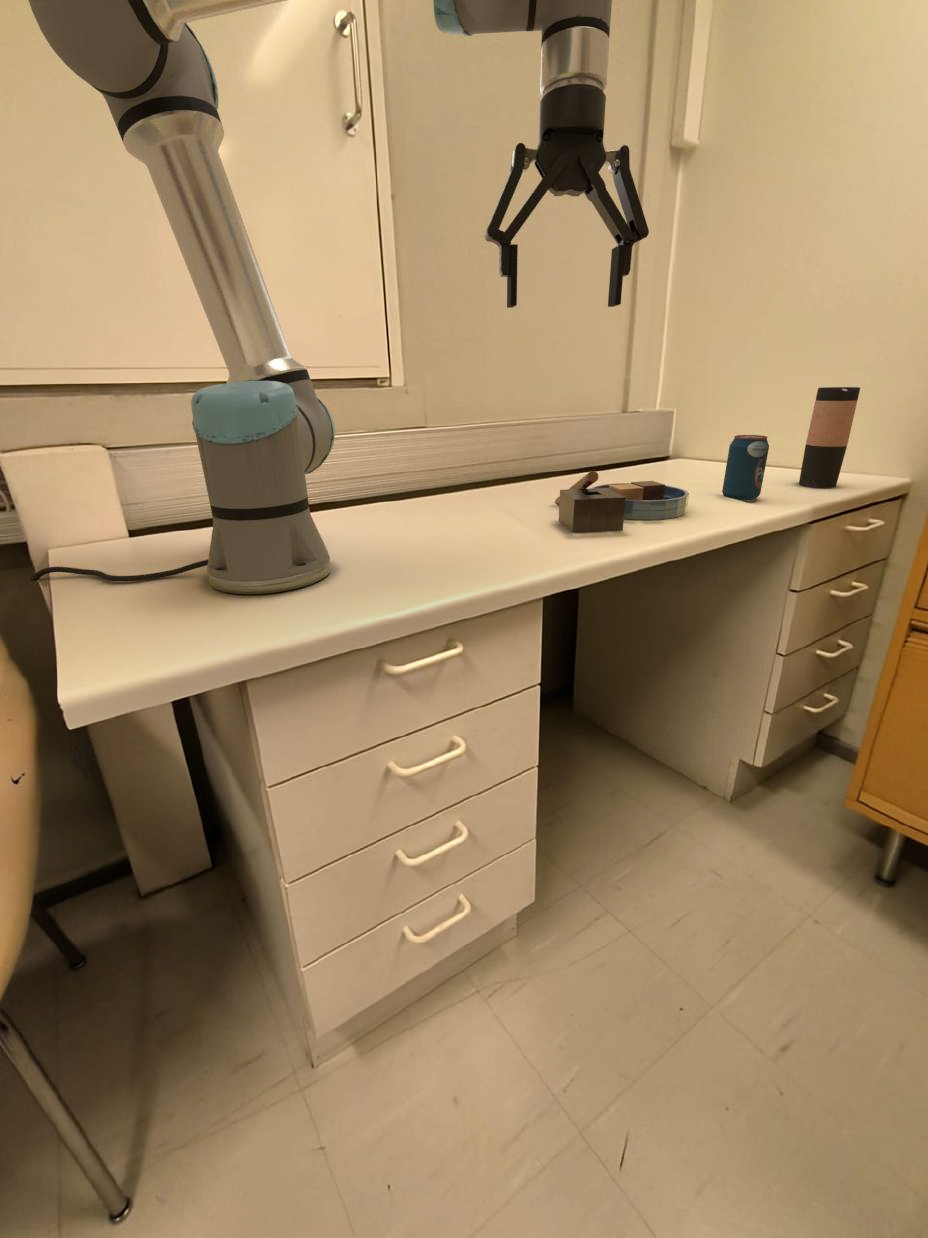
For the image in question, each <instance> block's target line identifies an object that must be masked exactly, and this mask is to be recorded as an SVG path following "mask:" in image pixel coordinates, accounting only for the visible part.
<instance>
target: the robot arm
mask: <svg viewBox="0 0 928 1238" xmlns="http://www.w3.org/2000/svg"><path fill="white" fill-rule="evenodd" d="M286 1H288V0H28V3H29V5H30V9H31V13H32V14H33V16H34V18H35V21H36V23H37V25H38V28H39V29H40V31H41V33H42V35H43V37H45V38H44V39H45V40H46V42H47V43H48V44H49V46H50V48H51V49H52V51H54V53H55V54H56V55H57V56H58V58H59V59H60V60H61V61H62V62H63V63H64V64H65V66H66V67H67V68H69V69H70V71H72V72H73V73H74V75H77V76H78V77H79V78H80V79H82V80H83V81H84V82H86V83H87V84H88V85H89V86H91V87H92V88H94V89H95V90H96V91H97V92H99V93H100V94H101V95H102V96H103V98H104V100H105V102H106V104H107V107H108V109H109V111H110V115H111V117H112V119H113V121H114V124H115V127H116V129H117V131H118V134H119V136H120V139H121V141H122V144H123V146H124V148H125V150H126V152H127V153H128V154H129V155H130V156H132V157H133V158H134V159H136V160H137V161H139V162H141V163H142V164H144V165H145V167H146V169H147V170H148V173H149V174H150V177H151V180H152V182H153V185H154V188H155V190H156V193H157V195H158V197H159V200H160V203H161V206H162V208H163V211H164V213H165V215H166V217H167V221H168V223H169V225H170V228H171V231H172V233H173V235H174V236H173V237H174V238H175V240H176V243H177V245H178V248H179V251H180V253H181V256H182V258H183V261H184V263H185V266H186V268H187V271H188V273H189V276H190V278H191V281H192V283H193V286H194V288H195V290H196V293H197V295H198V298H199V301H200V304H201V306H202V308H203V310H204V313H205V316H206V318H207V321H208V323H209V326H210V328H211V331H212V333H213V336H214V338H215V341H216V344H217V346H218V348H219V351H220V354H221V356H222V358H223V359H222V360H223V361H224V364H225V366H226V369H227V371H228V378H227V380H226V383H220V384H219V383H218V384H214V385H208V386H206V387H205V386H204V387H202V388H200V389H198V390H196V391H195V392H194V394H193V395H192V397H191V400H190V406H191V415H192V420H191V425H192V429H193V432H194V434H195V438H196V439H195V440H196V444H197V448H198V452H199V457H200V462H201V467H202V471H203V476H204V482H205V488H206V492H207V496H208V502H209V507H210V512H211V517H212V529H211V530H212V531H211V537H210V545H209V550H208V559H207V558H206V559H204V560H201V561H197V562H194V563H190V564H187V565H183V566H180V567H178V568H174V569H169V570H164V571H158V572H151V573H145V574H134V575H114V574H107V573H106V572H103V571H100V570H97V569H86V568H76V567H69V566H50V567H49V566H48V567H45V568H42V569H39V570H38V571H37V572H35V573H34V574H33V575H32V576H31V577H30V579H29V581H30V582H36V581H38V580H40V578H42V576H45V575H47V574H51V573H65V574H67V573H68V574H74V575H81V576H95V577H98V578H101V579H102V580H106V581H109V582H122V583H123V582H139V581H148V580H154V579H161V578H167V577H172V576H176V575H180V574H183V573H187V572H189V571H191V570H196V569H199V568H203V567H207V569H206V572H207V576H208V581H209V585H210V587H212V588H213V589H215V590H217V591H220V592H223V593H229V594H236V595H265V594H273V593H275V594H276V593H280V592H286V591H293V590H296V589H299V588H303V587H306V586H310V585H312V584H314V583H317V582H319V581H321V580H323V579H324V578H326V577H327V576H328V575H329V574H330V573H331V571H332V565H331V555H330V553H329V551H328V549H327V547H326V544H325V543H324V540H323V538H322V536H321V534H320V532H319V529H318V528H317V525H316V523H315V521H314V519H313V517H312V514H311V511H310V503H309V496H308V495H309V494H308V487H307V480H306V475H309V474H311V473H313V472H315V471H316V470H317V469H319V468H320V467H321V466H322V465H323V463H325V461H326V460H327V458H328V457H329V456H330V454H331V452H332V449H333V447H334V444H335V436H336V429H335V423H334V420H333V416H332V414H331V412H330V410H329V409H328V407H327V406H326V405H325V403H324V402H323V401H322V400H321V399H320V398H319V397H318V396H317V393H316V391H315V388H314V385H313V382H312V380H311V377H310V375H309V371H308V369H307V367H306V366H305V365H304V364H302V363H300V362H299V361H297V360H296V359H294V358H293V357H292V355H291V353H290V350H289V347H288V345H287V341H286V339H285V336H284V333H283V330H282V328H281V325H280V321H279V319H278V316H277V313H276V310H275V308H274V304H273V302H272V299H271V296H270V293H269V290H268V288H267V285H266V282H265V280H264V276H263V274H262V271H261V267H260V265H259V262H258V260H257V256H256V254H255V251H254V249H253V246H252V245H253V244H252V242H251V240H250V237H249V234H248V232H247V229H246V226H245V223H244V221H243V218H242V214H241V212H240V208H239V206H238V203H237V199H236V198H235V195H234V192H233V189H232V186H231V183H230V181H229V178H228V176H227V173H226V170H225V167H224V163H223V160H222V158H221V156H220V153H219V150H220V148H221V144H222V142H223V140H224V137H225V129H224V126H223V123H222V120H221V118H220V113H219V112H218V110H219V90H218V89H219V88H218V83H217V78H216V74H215V71H214V69H213V66H212V63H211V60H210V59H209V57H208V55H207V53H206V50H205V49H204V47H203V44H201V42H200V41H199V40H198V38H197V36H196V34H195V32H194V30H192V28H191V27H190V26H189V25H188V24H189V23H191V22H192V23H193V22H196V21H200V20H206V19H209V18H210V19H211V18H215V17H218V16H223V15H228V14H232V13H237V12H241V11H242V12H243V11H246V10H250V9H254V8H255V9H256V8H260V7H264V6H268V5H272V4H277V3H281V2H286ZM432 3H433V16H434V23H435V25H436V27H437V29H438V30H439V31H440V32H441V33H443V34H453V35H464V36H465V37H472V36H473V35H479V34H480V35H481V34H497V33H512V32H513V33H515V32H537V31H538V32H540V33H541V39H540V40H541V42H540V44H541V45H540V46H541V47H540V49H541V52H540V53H541V56H540V81H539V91H540V95H541V96H542V98H541V100H540V101H539V109H538V110H539V113H538V143H537V148H535V149H534V148H529V147H526V145H525V144H524V143H523V142H519V143H517V144H516V146H515V148H514V150H513V151H512V153H511V159H510V169H509V175H508V177H507V179H506V182H505V184H504V187H503V190H502V191H501V193H500V196H499V198H498V201H497V203H496V206H495V208H494V210H493V213H492V215H491V217H490V220H489V222H488V225H487V228H486V230H485V232H484V240H485V241H486V242H489V243H493V244H495V245H496V246H497V247H498V252H499V253H498V258H499V259H498V270H499V271H498V274H499V276H500V277H501V278H506V308H507V309H509V308H510V309H512V308H515V307H517V306H518V256H519V255H518V253H519V252H518V249H519V248H518V247H519V245H518V244H516V243H513V244H512V241H513V239H514V238H515V237H516V235H517V234H518V232H519V231H520V230H521V228H522V227H523V225H524V224H525V222H526V221H527V220H528V218H529V217H530V215H531V214H532V213H533V212H534V211H535V209H536V207H537V206H538V205H539V204H540V202H541V201H542V199H543V197H544V196H545V195H546V193H547V192H549V193H550V194H552V195H553V197H563V196H566V195H567V196H570V197H580V196H581V195H583V194H584V196H585V197H586V199H587V200H588V201H589V202H591V204H592V205H593V207H594V209H595V211H597V214H598V215H599V217H600V218H601V220H602V221H603V223H604V225H605V226H606V228H607V230H608V231H609V233H610V234H611V236H612V238H613V240H614V241H615V243H616V244H617V245H616V246H615V247H613V248H611V254H610V255H611V257H610V270H609V282H608V283H609V284H608V297H607V307H608V308H614V307H617V306H620V305H621V304H622V292H623V282H624V281H623V280H624V277H627V276H629V274H630V272H631V267H632V266H631V265H632V256H633V247H634V245H635V244H636V243H638V242H640V241H642V240H644V239H646V238H648V237H649V234H650V230H649V229H650V228H649V226H648V224H647V223H648V222H647V220H646V216H645V214H644V210H643V207H642V204H641V200H640V197H639V194H638V191H637V188H636V184H635V181H634V178H633V174H632V171H631V167H630V166H631V165H630V164H631V163H630V161H631V159H630V158H631V157H630V148H629V146H628V145H626V144H623V145H622V146H620V148H619V149H610V150H606V148H605V145H604V134H605V120H606V106H607V105H606V104H607V96H606V94H605V92H604V91H605V90H606V88H607V85H608V76H609V74H608V73H609V51H610V33H611V19H612V6H613V0H433V2H432ZM532 163H533V164H534V166H535V169H536V170H537V172H538V174H539V175H540V177H541V180H540V182H538V184H537V186H536V187H535V189H534V190H533V191H532V193H531V194H530V195H529V197H528V198H527V200H526V201H525V203H524V204H523V205H522V207H521V208H520V210H519V211H518V213H517V214H516V215H515V217H514V218H513V219H512V221H511V222H510V224H509V225H508V226H507V227H506V229H505V231H503V230H501V229H500V227H501V226H502V223H503V221H504V218H505V216H506V214H507V211H508V209H509V206H510V204H511V202H512V199H513V197H514V195H515V192H516V189H517V187H518V185H519V183H520V180H521V177H522V175H523V173H525V172H527V171H528V169H529V168H530V166H531V165H532ZM604 165H605V166H606V167H607V169H608V172H609V173H610V174H612V179H613V184H614V187H615V190H616V193H617V196H618V200H619V203H620V205H621V209H622V211H623V215H624V216H623V215H622V213H621V211H620V210H619V207H618V206H617V205H616V203H615V201H614V199H613V198H612V196H611V195H610V193H609V191H608V189H607V185H606V182H605V181H604V179H603V177H602V176H601V174H600V171H601V170H602V168H603V167H604ZM72 749H73V751H74V755H75V756H76V760H77V763H78V765H79V767H80V771H81V774H82V777H83V780H84V782H88V781H90V780H91V778H90V774H89V772H88V769H87V765H86V762H85V760H84V756H83V754H82V751H81V748H80V746H79V745H74V746H72Z"/></svg>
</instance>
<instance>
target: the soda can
mask: <svg viewBox="0 0 928 1238" xmlns="http://www.w3.org/2000/svg"><path fill="white" fill-rule="evenodd" d="M728 446H729V448H728V454H727V459H726V460H727V461H726V465H725V471H724V477H723V484H722V490H721V493H722V494H723V495H722V496H723V497H724V498H728V499H733V500H736V501H739V502H743V503H749V502H755V501H756V500H757V499H758V497H759V496H760V495H761V492H762V488H763V487H762V486H763V482H764V477H765V471H766V465H767V461H768V455H769V449H770V444H769V442H768V436H767V435H760V434H738V435H734V436H733V439H732V440H731V442H730V444H729V445H728Z"/></svg>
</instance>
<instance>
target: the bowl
mask: <svg viewBox="0 0 928 1238" xmlns="http://www.w3.org/2000/svg"><path fill="white" fill-rule="evenodd" d="M617 484H631V482H618V483H617V482H615V483H606V484H599V485H595V486H592V487H590V488H589V489H592V488H609V485H617ZM689 498H690V493H689V491H688V490H686V489H684V488H680V487H677V486H671V485H666V484H665V491H664V499H663V500H650V501H648V500H626V501H625V512H624V520H629V521H630V520H632V521H658V520H668V519H675V518H679V517H682V516H685V514H686V513H687V512H688V505H689Z"/></svg>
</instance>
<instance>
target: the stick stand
mask: <svg viewBox="0 0 928 1238" xmlns="http://www.w3.org/2000/svg"><path fill="white" fill-rule="evenodd" d="M591 488H592V487H591ZM559 496H560V501H559V504H558V522H559V523H560V524H561V525H563V526H564V527H565V528H566V529H567V530H569V531H570V532H571V533H572V534H581V533H599V532H602V533H603V532H618V531H619V532H620V531H621V532H622V531H623V530H624V522H625V519H624V512H625V501H626V497H624V496H622V495H620V494H618V493H616V492H615V491H613V490H611V489H609V488H592V489H590V488H586V489H569V488H568V489H560V490H559Z"/></svg>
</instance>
